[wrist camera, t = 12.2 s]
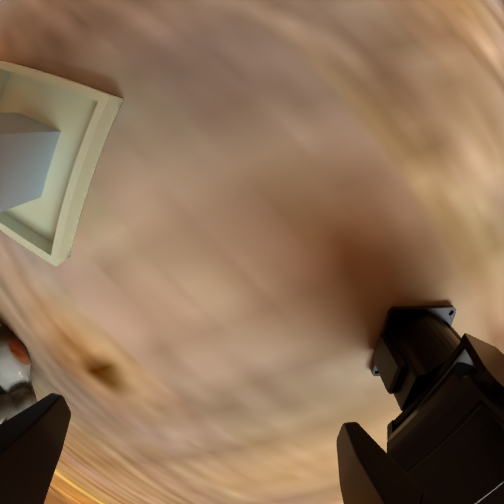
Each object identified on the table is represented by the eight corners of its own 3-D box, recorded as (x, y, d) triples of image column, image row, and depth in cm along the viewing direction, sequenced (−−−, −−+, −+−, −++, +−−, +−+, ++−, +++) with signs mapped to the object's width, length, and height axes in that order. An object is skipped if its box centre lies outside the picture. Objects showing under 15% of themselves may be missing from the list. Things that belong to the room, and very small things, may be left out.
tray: (123, 99, 17) (110, 95, 15) (69, 256, 20) (55, 266, 18) (14, 63, 15) (-2, 60, 13) (-23, 196, 19) (-37, 201, 17)
